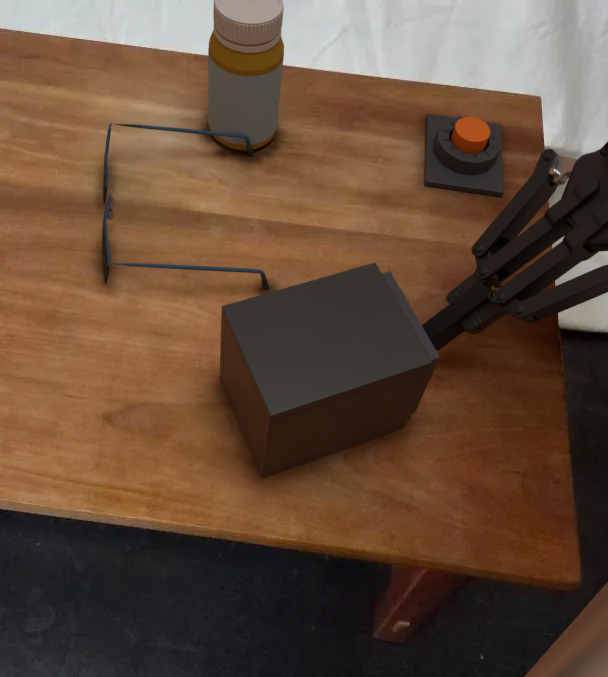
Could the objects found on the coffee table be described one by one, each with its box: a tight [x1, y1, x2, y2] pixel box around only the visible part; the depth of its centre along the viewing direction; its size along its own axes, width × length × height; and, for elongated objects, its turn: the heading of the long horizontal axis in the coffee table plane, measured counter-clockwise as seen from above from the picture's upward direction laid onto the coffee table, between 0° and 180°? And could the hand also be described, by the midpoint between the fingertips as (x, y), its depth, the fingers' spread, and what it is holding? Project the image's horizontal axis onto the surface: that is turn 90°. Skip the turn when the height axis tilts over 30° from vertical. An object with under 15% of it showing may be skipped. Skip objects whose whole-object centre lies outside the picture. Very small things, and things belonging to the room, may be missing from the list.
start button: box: [451, 116, 490, 154], centre depth 84 cm, size 4×4×2 cm
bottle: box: [207, 0, 285, 152], centre depth 79 cm, size 7×7×15 cm
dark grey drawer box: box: [219, 262, 432, 479], centre depth 64 cm, size 13×10×11 cm
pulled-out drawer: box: [382, 271, 441, 416], centre depth 65 cm, size 13×8×9 cm, turn 113°
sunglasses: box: [101, 123, 270, 290], centre depth 76 cm, size 17×15×5 cm
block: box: [423, 113, 505, 198], centre depth 85 cm, size 10×8×2 cm
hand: (427, 340), depth 68 cm, fingers closed
